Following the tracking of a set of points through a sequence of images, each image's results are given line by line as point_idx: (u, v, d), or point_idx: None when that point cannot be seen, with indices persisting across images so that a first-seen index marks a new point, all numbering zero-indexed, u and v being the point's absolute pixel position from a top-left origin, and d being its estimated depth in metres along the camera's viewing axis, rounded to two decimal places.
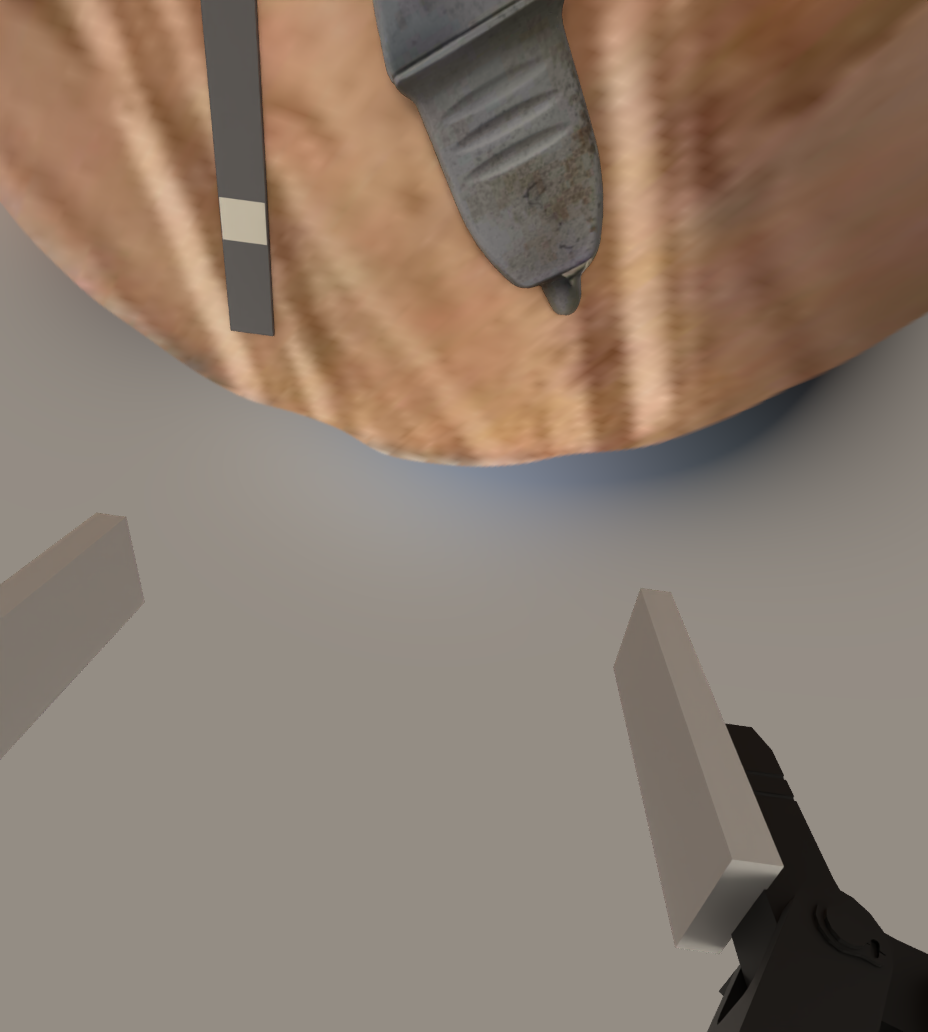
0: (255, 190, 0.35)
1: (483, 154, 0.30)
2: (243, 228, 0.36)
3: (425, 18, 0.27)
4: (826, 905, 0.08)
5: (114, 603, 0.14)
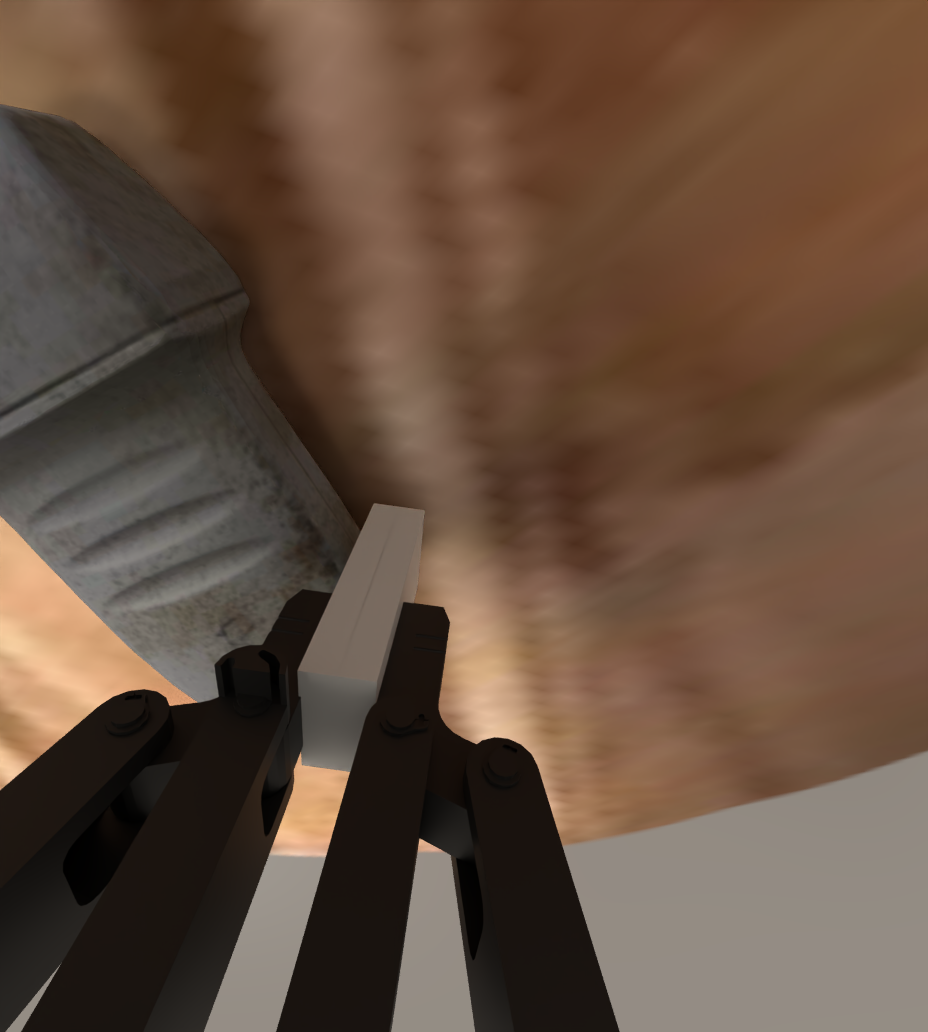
0: None
1: (123, 577, 0.16)
2: None
3: None
4: (387, 710, 0.10)
5: None
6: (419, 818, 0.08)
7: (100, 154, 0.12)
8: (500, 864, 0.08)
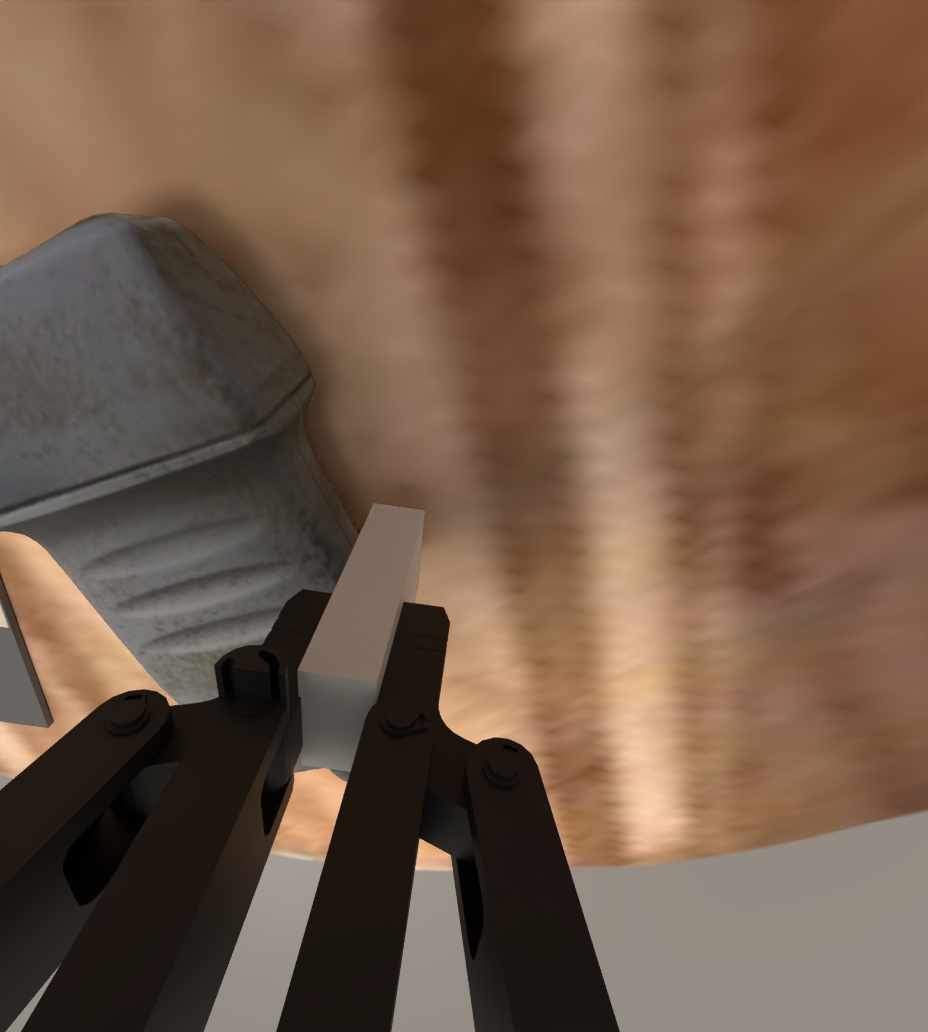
0: None
1: (166, 625, 0.17)
2: None
3: None
4: (387, 710, 0.10)
5: None
6: (419, 818, 0.08)
7: (202, 255, 0.13)
8: (500, 864, 0.08)
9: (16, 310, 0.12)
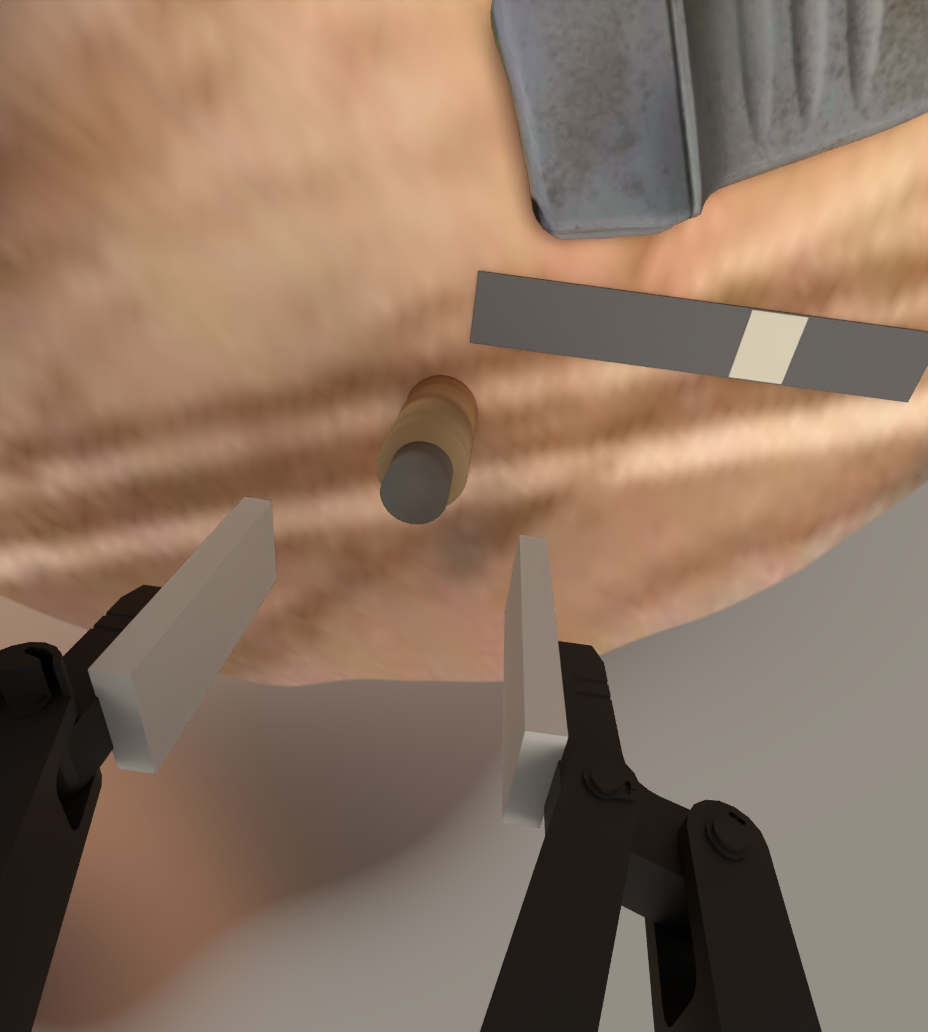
0: (733, 321, 0.24)
1: (837, 60, 0.17)
2: (776, 349, 0.24)
3: (643, 145, 0.18)
4: (591, 766, 0.09)
5: (260, 578, 0.15)
6: (620, 900, 0.07)
7: None
8: (723, 938, 0.07)
9: (544, 82, 0.18)
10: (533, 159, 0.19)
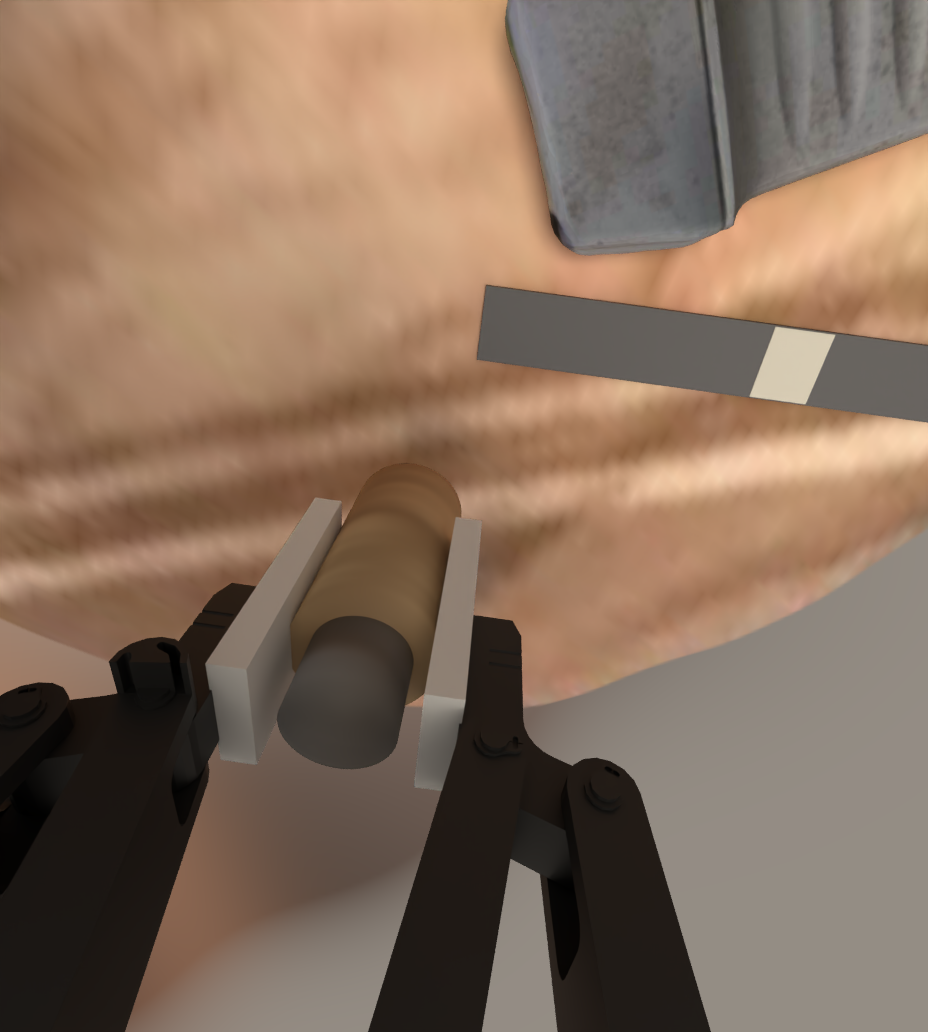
0: (754, 338, 0.23)
1: (883, 58, 0.16)
2: (800, 368, 0.23)
3: (671, 154, 0.17)
4: (481, 728, 0.10)
5: None
6: (510, 846, 0.08)
7: None
8: (601, 887, 0.08)
9: (563, 91, 0.17)
10: (553, 172, 0.18)
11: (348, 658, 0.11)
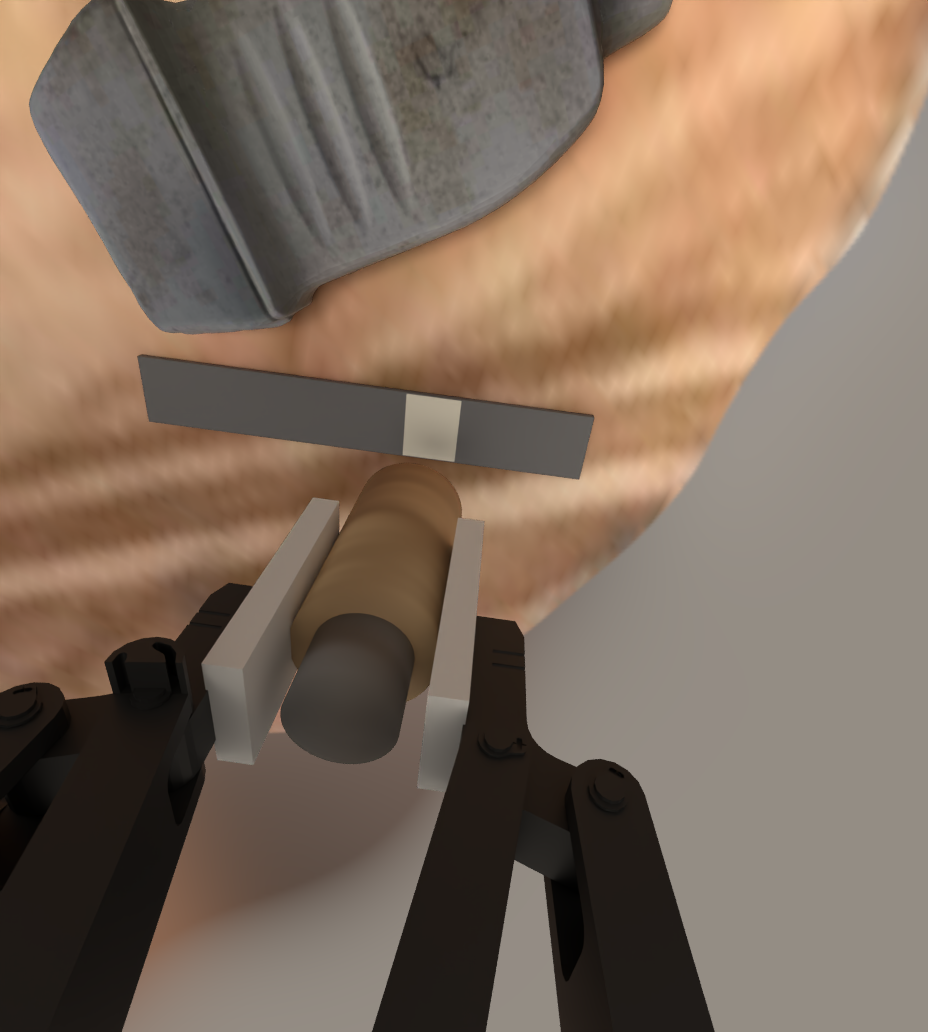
0: (391, 403, 0.24)
1: (371, 172, 0.17)
2: (440, 430, 0.25)
3: (198, 257, 0.18)
4: (485, 729, 0.10)
5: None
6: (514, 847, 0.08)
7: None
8: (605, 888, 0.08)
9: (95, 199, 0.18)
10: (117, 267, 0.19)
11: (350, 654, 0.11)
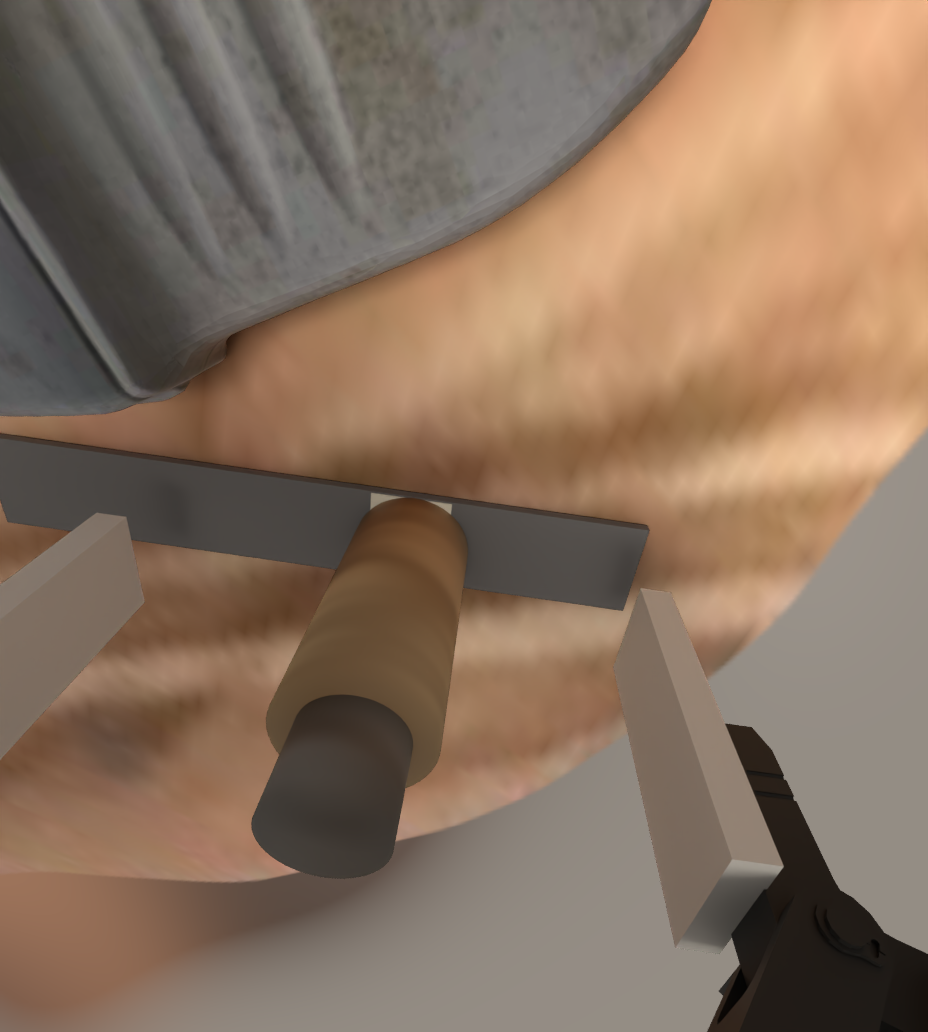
0: (350, 505, 0.17)
1: (285, 147, 0.10)
2: None
3: None
4: (826, 905, 0.08)
5: (114, 603, 0.14)
6: None
7: None
8: None
9: None
10: None
11: (333, 754, 0.09)
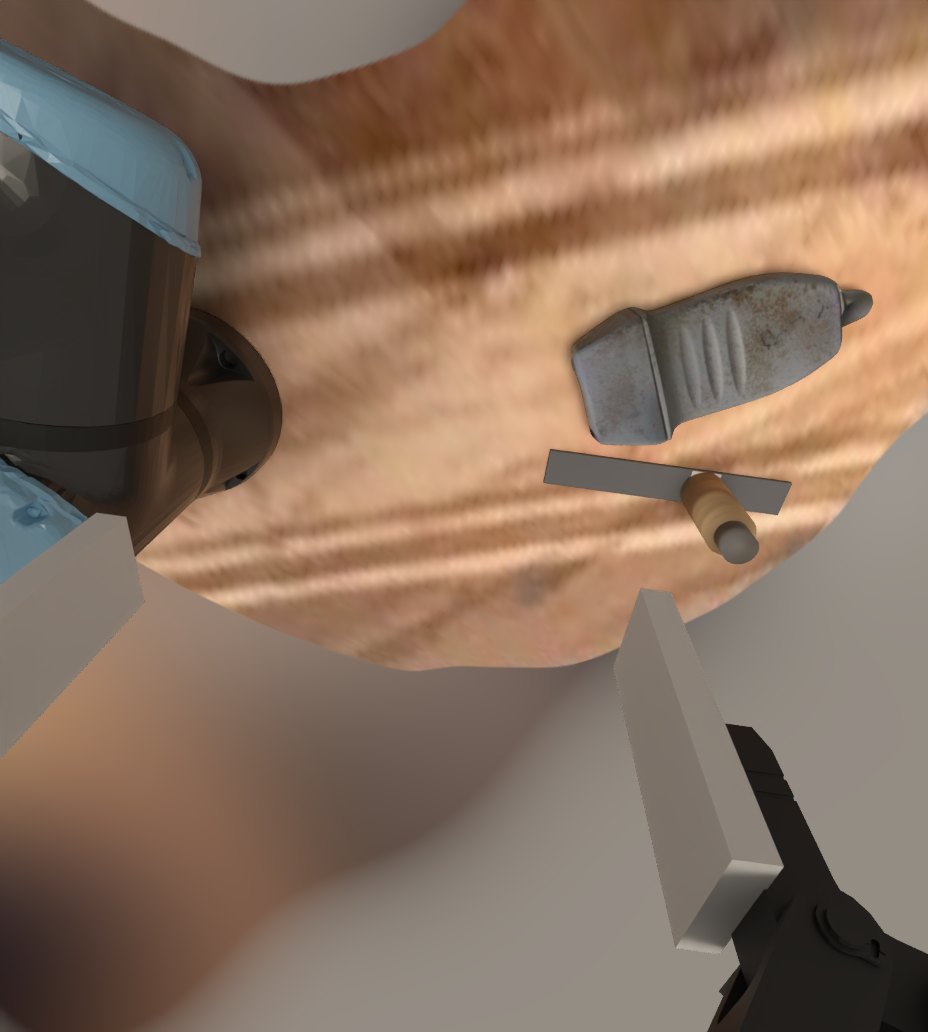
0: (683, 475, 0.46)
1: (728, 379, 0.39)
2: None
3: (643, 415, 0.40)
4: (826, 905, 0.08)
5: (114, 603, 0.14)
6: None
7: (584, 338, 0.40)
8: None
9: (597, 391, 0.39)
10: (592, 417, 0.41)
11: (742, 530, 0.39)
